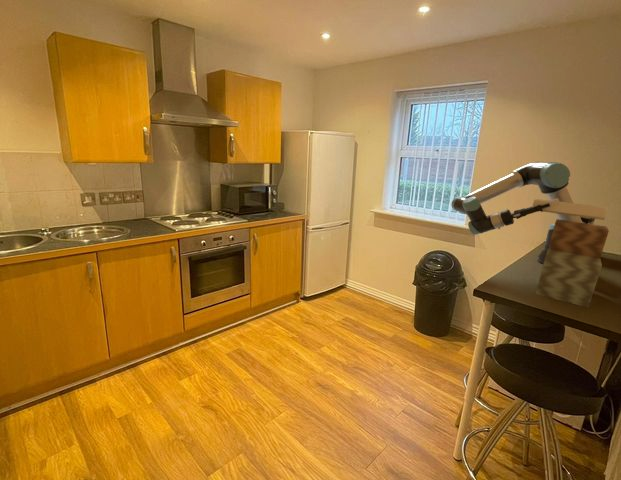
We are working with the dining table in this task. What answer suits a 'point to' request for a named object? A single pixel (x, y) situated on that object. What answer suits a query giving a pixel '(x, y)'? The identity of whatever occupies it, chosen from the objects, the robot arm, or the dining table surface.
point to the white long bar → (575, 209)
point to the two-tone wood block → (573, 262)
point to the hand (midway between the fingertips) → (558, 201)
